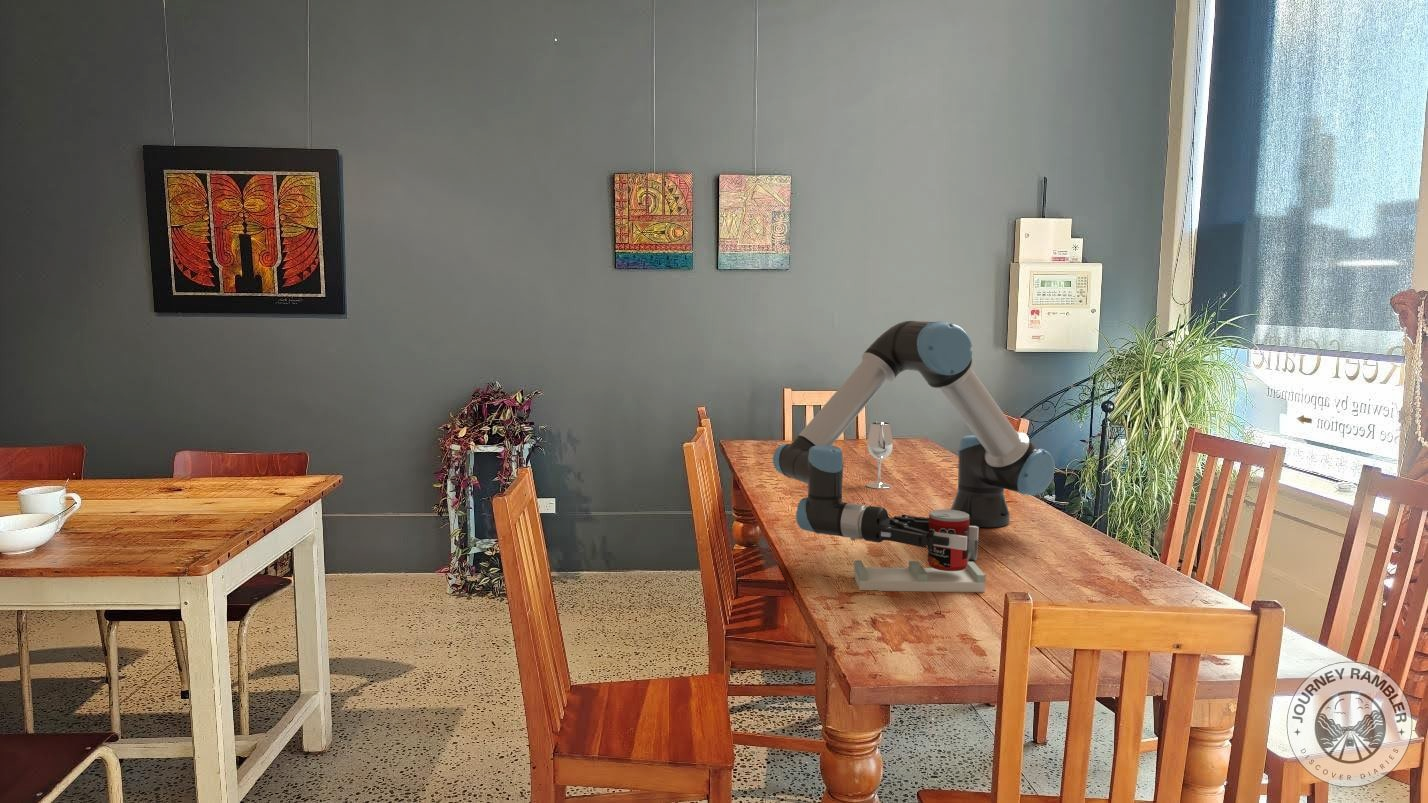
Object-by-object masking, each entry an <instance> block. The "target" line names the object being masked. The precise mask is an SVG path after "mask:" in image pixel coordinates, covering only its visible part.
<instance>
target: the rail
mask: <svg viewBox="0 0 1428 803" xmlns="http://www.w3.org/2000/svg"><path fill="white" fill-rule="evenodd" d="M853 563H854V564H853V578H854V577H855V578H854V580H855V582H856V585H857V587H858V589H860V590H879V591H878V592H933V593H934V592H936V593H937V592H938V593H939V592H940V593H942V592H943V593H944V592H946V593H948V592H949V593H950V592H951V593H959V592H960V593H985V592H986V574H985V573H984V571H982V570H981V568H980V567H979V566H978V565H977V564H976V563H975V562H974V561H968V564H967V566H966V568H965V569H963V570H960V571H943V570H938V569H934V568H932V567H923V565H921V563H920V561H919V560H908V567H884V566H883V567H876V566H875V567H873V566H872V567H870V566H869V567H868V566H866V567H865V564H864V563H863V561H862V560H860V559H859V560H858V559H854V561H853ZM860 590H859V591H860Z"/></svg>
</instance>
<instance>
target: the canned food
mask: <svg viewBox="0 0 1428 803" xmlns="http://www.w3.org/2000/svg"><path fill="white" fill-rule="evenodd" d="M928 516H929V517H928V518H929V532H931V533H933V536H934V532H940V533H947V534H954V535H961V536H967V550H966V551H965V550H958V549H952V548H946V547H939V546H933V545H934V544H932V549H927V562H928V566H929V567H930V568H934V569H938V570H943V571H960V570H963V569H965V568H966V566H967V564H968V562H969V560H968V543H969V514H967V513H965V512H962V511H957V510H951V509H935V510H931V511H929V515H928Z"/></svg>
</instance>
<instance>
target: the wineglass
mask: <svg viewBox="0 0 1428 803" xmlns="http://www.w3.org/2000/svg"><path fill="white" fill-rule="evenodd" d="M893 442H894V441H893V435H892V429H891V423H889V422H884V421H883V422H882V421H874V422H871V425H870V428H869V434H868V439H867V445H866V446H867V450H868V453H869V454H870V455H871V456H872V457H873V458H874V459H877V463H878V465H877V466H878V471H877V472H878V473H877V481H876V482H870V483H867V484H866V487H868V488H871V489H879V490H884V489H890V488H892V485H891V484H889V483H886V482H883V481H882V479H881V473H882V472H881V471H882V470H881V468H882V461H883V460H884V459H886V458H888V457H889V456H890V455H891V453H892V451H893V448H894V447H893V446H894V445H893V444H894V443H893Z"/></svg>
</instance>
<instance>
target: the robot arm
mask: <svg viewBox="0 0 1428 803" xmlns="http://www.w3.org/2000/svg"><path fill="white" fill-rule="evenodd" d="M972 347H973V344H972V341H971V339H970V336H969V334H968V333H967V332H966V331H965V330H964V329H963V328H962V327H961V326H959V325H957V324H954V323H949V322H947V321H940V320H937V321H916V320H905V321H902V322H898V323H897V324H895V325H893V326H892V327H889V328H888V329H886V331H885V332H883V333H882V334H881V335H880V336H878V337H877V339H875V340H874V341H873V342H872V344H871V345H869V347H867V349H866V350H865V351H864V352H863V353H862V355H861V362H860V363H859V365H858V366H857V367H855V369H854V370H853V372H852V373H851V374H850V375H849V376H848V377H847V378H846V379H845V381H844V382H843V383H842V384H841V385H840V387H839V388H838V389H837V390H836V391H835V392H834V394H833V395H832V396H831V397H830V398H829V399H828V401H826V403H825V404H824V405H823V407H822V408H820V410H819V411H818V412H817V414H815V416H814V417H813V418H812V419H811V420H810V422H808V424H807V425H806V426H805V427H804V428H803V430H801V432H800V433H799V435H797V437H796V438H794V440H793V441H792V442H791V443H784V444H781V445H779V446H778V447H777V448H776V449H775V451H774V452H773V455H772V456H773V457H772V463H773V466H774V468H775V470H776V472H778V473H779V474H781V475H783V476H784V477H787V479H788V478H789V479H793V480H797V481H799V482H801V483H804V484H806V485H807V496H806V497H805V496H804V497H803V498H801V499H800V501H799V502H798V503H797V510H796V512H795V513H796V514H795V516H796V517H795V520H796V524H797V525H798V527H799V528H800V529H802V530H803V531H808V532H811V533H814V534H818V535H819V534H822V535H829V536H836V537H837V536H838V537H843V538H848V539H849V538H850V541H852V542H853V541H854V542H855V540H863V539H864V541H866V542H874V543H882V542H883V541H887V542H888V541H891V542H894V543H900V544H903V545H904V544H905V545H909V546H914V547H919V548H925V549H926V548H927V550H928V549H932V544H934V545H933V546H939V547H946V548H952V549H958V550H965V551H966V550H967V536H961V535H954V534H947V533H940V532H934V536H933V533H931V532H929V517H924V516H923V517H922V516H915V515H914V516H913V515H907V514H901V516H899V515H894V516H893V517H890V516H889V514H888V511H887V509H886V508H885V507H881V506H873V505H868V506H867V505H866V504H861V503H860V504H859V503H852V502H845V501H843V477H844V459H843V450H842V449H841V447H838V446H835V445H834V443H835V442H836V441H837V440H838V439H839V438H840V436H841V435H842V434H843V433H844V432H845V431H846V429H847V428H848V427H849V425H851V423H852V422H853V421H854V420H855V419H856V417H857V416H858V415H859V414H860V413H861V412H862V411H863V409H864V408H866V406H867V405H868V404H869V403H870V401H871V400H872V399H873V398H874V397H875V395H876V394H878V392H879V391H880V390H881V388H882V387H883V386H885V384H886V383H887V382H892V381H894V380H895V379H896V377H897V376H898V375H899V374H901V373H903V372H904V371H907V370H908V371H914V372H915V371H917V372H918V373H920V375H921V377H923V379H924V380H925V382H926V383H927V384H928V385H929V387H930V388H932V389H939V390H940V391H941V392H942V393H943V394H944V396H945V397H946V399H947V400H948V401H949V403H950V404H951V405H952V407H953V408H954V410H955V411H956V412H957V414H958V415H959V416H960V418H961V419H962V420H963V422H964V423H965V424H966V426H967V427H968V429H969V430H970V431H971V433H972V434H971V435H965V436H963V437H962V438H961V439H960V441H959V449H958V478H957V482H958V483H957V492H956V495H955V497H954V500H953V502H952V505H951V508H950V510H957V511H962V512H965V513H967V514H969V539H970V540H978V541H979V529H980V528H999V527H1005V526H1008V525H1009V524H1010V517H1011V513H1010V511H1009V508H1008V504H1007V501H1006V497H1005V490H1008V491H1012V492H1015V493H1019V494H1021V495H1026V496H1038V495H1040V494H1042V493H1043V492H1045V491H1046V490H1047V489H1048V487H1049V486H1050V484H1051V482H1052V480H1053V479H1054V474H1055V473H1054V472H1055V470H1056V469H1055V468H1056V466H1055V459H1054V457H1053V455H1052V454H1051V453H1050V452H1049V451H1047V450H1046V449H1043V448H1038V447H1036V446H1035V444H1034V443H1033V441H1032V440H1031V438H1029V436H1028V435H1027V434H1026V433H1024V431H1023V432H1022V431H1017V430H1016V429H1015V427H1014V426H1013V425H1012V423H1011V422H1010V421H1009V419H1008V417H1007V416H1006V415H1005V412H1003V410H1002V409H1001V408H1000V406H999V405H998V404H997V402H996V401H995V399H994V398H993V397H992V395H991V394H990V392H989V391H988V389H987V388H986V387H985V385H984V384H983V382H982V381H981V379H980V378H979V377H978V375H977V374H976V372H975V371H974V369H973V368H972V366H973V362H974V360H973V351H972V350H971V348H972ZM975 526H976V527H975Z"/></svg>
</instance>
